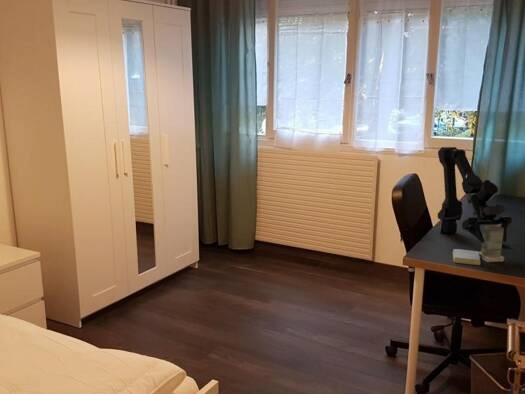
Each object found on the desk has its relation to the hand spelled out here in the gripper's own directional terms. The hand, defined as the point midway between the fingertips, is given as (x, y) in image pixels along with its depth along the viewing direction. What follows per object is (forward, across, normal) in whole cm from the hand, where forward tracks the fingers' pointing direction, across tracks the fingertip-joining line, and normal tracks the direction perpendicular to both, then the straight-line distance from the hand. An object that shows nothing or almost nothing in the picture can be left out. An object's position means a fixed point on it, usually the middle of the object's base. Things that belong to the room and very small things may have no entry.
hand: (494, 242), depth 189 cm
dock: (+4, -10, +6) cm, 12 cm away
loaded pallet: (+4, 0, +6) cm, 7 cm away
